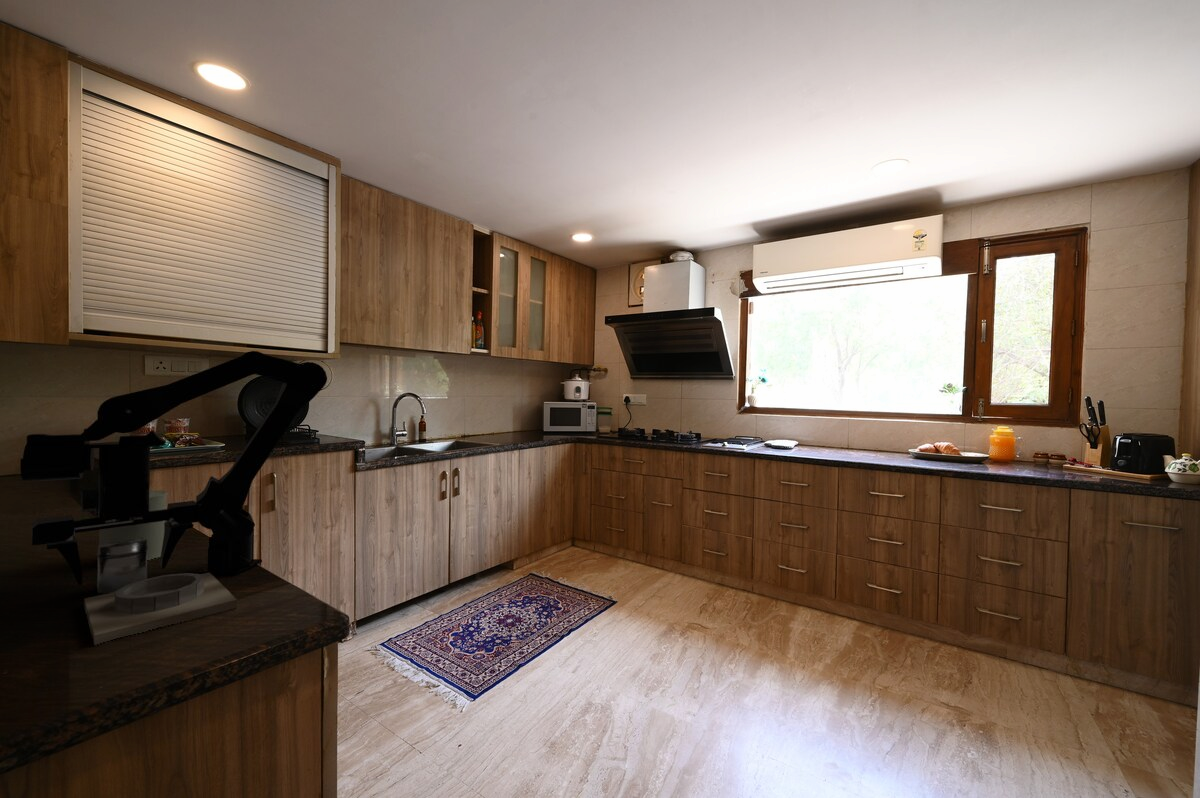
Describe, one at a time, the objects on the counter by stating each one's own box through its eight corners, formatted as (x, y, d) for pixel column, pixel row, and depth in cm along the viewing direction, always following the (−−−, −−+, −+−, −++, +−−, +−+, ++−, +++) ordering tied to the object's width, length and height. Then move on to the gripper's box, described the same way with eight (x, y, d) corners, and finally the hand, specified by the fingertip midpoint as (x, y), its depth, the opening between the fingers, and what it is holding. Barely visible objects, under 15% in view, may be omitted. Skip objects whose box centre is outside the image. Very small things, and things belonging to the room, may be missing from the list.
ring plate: (84, 607, 68) (84, 584, 68) (209, 579, 79) (209, 560, 79) (94, 645, 58) (94, 618, 58) (236, 608, 69) (237, 585, 69)
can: (118, 551, 92) (119, 489, 92) (177, 548, 95) (178, 487, 95) (83, 568, 83) (84, 498, 84) (149, 563, 86) (150, 496, 86)
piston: (122, 580, 78) (123, 537, 78) (157, 580, 78) (157, 537, 78) (85, 594, 73) (86, 547, 73) (122, 594, 73) (123, 548, 73)
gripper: (190, 465, 88) (189, 551, 88) (32, 476, 74) (30, 579, 74) (205, 471, 81) (203, 565, 81) (33, 485, 66) (31, 599, 66)
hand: (123, 575), depth 76 cm, fingers open, 9 cm apart
